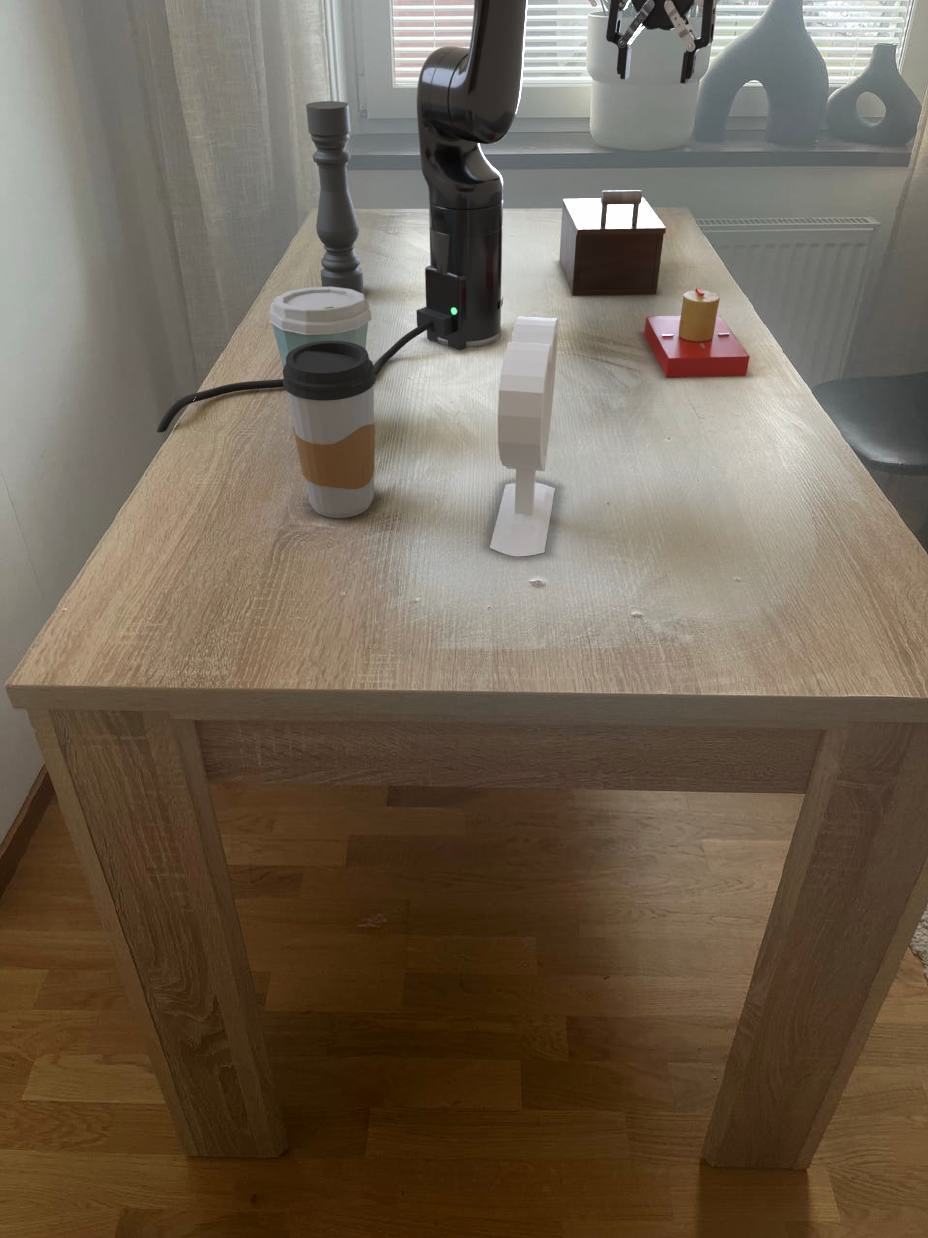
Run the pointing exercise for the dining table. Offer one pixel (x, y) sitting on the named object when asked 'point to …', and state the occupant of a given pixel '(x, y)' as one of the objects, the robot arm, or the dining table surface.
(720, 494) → the dining table surface
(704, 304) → the valve knob
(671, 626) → the dining table surface
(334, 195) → the candle holder
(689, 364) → the panel
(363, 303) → the disposable coffee cup
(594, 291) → the dark wooden box
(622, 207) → the box lid
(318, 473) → the coffee cup
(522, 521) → the heart sculpture
